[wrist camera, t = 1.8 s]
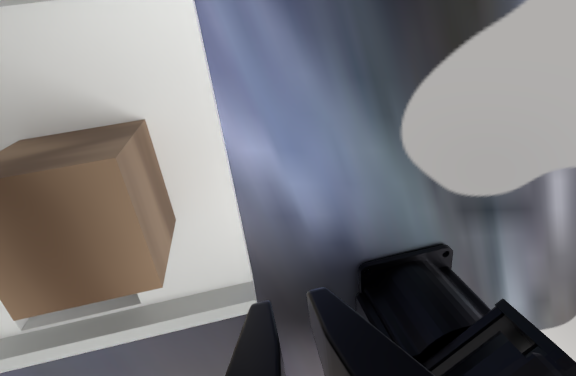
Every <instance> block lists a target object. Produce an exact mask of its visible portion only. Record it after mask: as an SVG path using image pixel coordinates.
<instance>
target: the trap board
mask: <svg viewBox="0 0 576 376" xmlns="http://www.w3.org/2000/svg"><path fill="white" fill-rule="evenodd" d="M143 119H145V121H146V124H147V127H148V130H149V134H150V137H151V140H152V143H153V147H154V150H155V153H156V156H157V160H158V163H159V166H160V169H161V173H162V176H163V179H164V182H165V186H166V189H167V192H168V195H169V199H170V202H171V205H172V208H173V212H174V215H175V218H176V222H175V228H174V233H173V238H172V243H171V248H170V253H169V258H168V263H167V268H166V273H165V278H164V283H163V288H159V289H154V290H150V291H146V292H141V293H137V294H132V295H128V296H123V297H119V298H114V299H110V300H105V301H101V302H96V303H92V304H88V305H83V306H79V307H74V308H70V309H65V310H61V311H56V312H52V313H47V314H43V315H38V316H34V317H29V318H25V319H21V320H16V321H13V319H12V318H11V316H10V314H9V313H8V311H7V310H6V308H5V307H4V305H3V303H2V302H1V300H0V373H3V372H7V371H11V370H15V369H20V368H24V367H28V366H32V365H36V364H40V363H45V362H49V361H53V360H57V359H61V358H66V357H70V356H74V355H78V354H82V353H86V352H91V351H95V350H99V349H103V348H107V347H111V346H116V345H120V344H124V343H128V342H132V341H136V340H141V339H145V338H149V337H153V336H157V335H161V334H166V333H170V332H174V331H178V330H182V329H187V328H191V327H195V326H199V325H203V324H207V323H212V322H216V321H220V320H224V319H228V318H232V317H237V316H241V315H245V314H248V311H249V308H250V306H251V305H252V304H254V303H257V299H256V293H255V286H254V280H253V274H252V268H251V264H250V259H249V254H248V250H247V245H246V240H245V236H244V231H243V226H242V221H241V217H240V212H239V207H238V203H237V198H236V193H235V189H234V184H233V179H232V175H231V170H230V165H229V161H228V156H227V151H226V147H225V142H224V137H223V132H222V128H221V123H220V118H219V114H218V109H217V104H216V100H215V95H214V90H213V86H212V81H211V76H210V72H209V67H208V62H207V58H206V53H205V48H204V43H203V39H202V34H201V29H200V25H199V20H198V15H197V11H196V6H195V1H194V0H0V151H1V150H3V149H5V148H7V147H8V146H10V145H12V144H14V143H15V142H17V141H19V140H23V139H29V138H35V137H41V136H47V135H53V134H59V133H65V132H71V131H77V130H83V129H89V128H95V127H101V126H107V125H113V124H119V123H125V122H131V121H137V120H143Z"/></svg>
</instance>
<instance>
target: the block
mask: <svg viewBox="0 0 576 376" xmlns="http://www.w3.org/2000/svg"><path fill="white" fill-rule="evenodd" d="M175 222H176V218H175V215H174V212H173V208H172V205H171V202H170V199H169V195H168V192H167V189H166V186H165V182H164V179H163V176H162V173H161V169H160V166H159V163H158V160H157V156H156V153H155V150H154V147H153V143H152V140H151V137H150V134H149V130H148V127H147V124H146V121H145V119H143V120H137V121H131V122H125V123H119V124H113V125H107V126H101V127H95V128H89V129H83V130H77V131H71V132H65V133H59V134H53V135H47V136H41V137H35V138H29V139H23V140H19V141H17V142H15V143H14V144H12V145H10V146H8V147H7V148H5V149H3V150H1V151H0V300H1V302H2V303H3V305H4V307H5V308H6V310H7V311H8V313H9V314H10V316H11V318H12V319H13V321H16V320H21V319H25V318H29V317H34V316H38V315H43V314H47V313H52V312H56V311H61V310H65V309H70V308H74V307H79V306H83V305H88V304H92V303H96V302H101V301H105V300H110V299H114V298H119V297H123V296H128V295H132V294H137V293H141V292H146V291H150V290H154V289H159V288H163V283H164V278H165V273H166V268H167V263H168V258H169V253H170V248H171V243H172V238H173V233H174V228H175Z"/></svg>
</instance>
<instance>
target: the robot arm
mask: <svg viewBox="0 0 576 376" xmlns="http://www.w3.org/2000/svg"><path fill="white" fill-rule="evenodd" d="M444 252H445V253H444ZM452 257H453V250H452V249H451V248H450V247H449V246H448V245H440V246H435V247H431V248H427V249H422V250H418V251H414V252H409V253H405V254H401V255H396V256H392V257H388V258H383V259H379V260H375V261H370V262H366V263H363V264H362V265H360V267H359V269H358V276H359V293H358V294H357V296H356V311H357V312H356V311H354V310H353V309H352V308H351V307H349V306H348V305H347V304H346V303H344V302H343V301H342V300H341V299H340V298H338V297H337V296H336V295H335V294H333V293H332V292H331V291H330V290H328V289H327V288H325V287H321V288H317V289H313V290H309V291H308V292H307V302H308V309H309V317H310V323H311V328H312V332H313V335H314V339H315V342H316V346H317V350H318V353H319V357H320V361H321V364H322V368H323V371H324V375H325V376H576V362H575V361H574V360H573V359H571V358H570V357H569V356H568V355H567V354H566V353H565V352H564V351H562V349H560V348H559V347H558V346H557V345H556V344H555V343H554V342H552V341H551V340H550V339H549V338H548V337H546V335H544V334H543V333H542V332H541V331H540V330H539V329H537V328H536V327H535V326H534V325H533V324H532V323H531V322H529V321H528V320H527V319H526V318H525V317H524V316H522V315H521V314H520V313H519V312H518V311H517V310H516V309H514V308H513V307H512V306H511V305H510V304H509V303H508V302H506V301H505V300H504V299H502V300H500V301H499V302H498V303H496V304H495V306H496V307H494V308H493V309H492V310H491V309H490V308H489V307H488V306H487V305H486V304H485V303H484V302H483V301H482V300H481V299H480V298H479V297H478V296H477V295H476V294H475V293H474V292H473V291H472V290H471V289H470V288H469V287H468V286H467V285H466V284H465V283H464V282H463V281H462V280H461V279H460V278H459V277H458V276H457V275H456V274H455V273H454V272H453V271H452V270H451V267H452ZM368 269H369V270H368ZM366 270H368V271H366ZM365 271H366V272H365ZM225 376H286V374H285V369H284V364H283V358H282V353H281V348H280V343H279V338H278V333H277V328H276V324H275V319H274V314H273V310H272V305H271V302H270V301H269V300H266V301H262V302H258V303H254V304H252V305H251V306H250V308H249V311H248V314H247V317H246V319H245V322H244V325H243V328H242V330H241V333H240V336H239V339H238V342H237V344H236V347H235V350H234V353H233V355H232V358H231V361H230V364H229V366H228V369H227V372H226V375H225Z"/></svg>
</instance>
